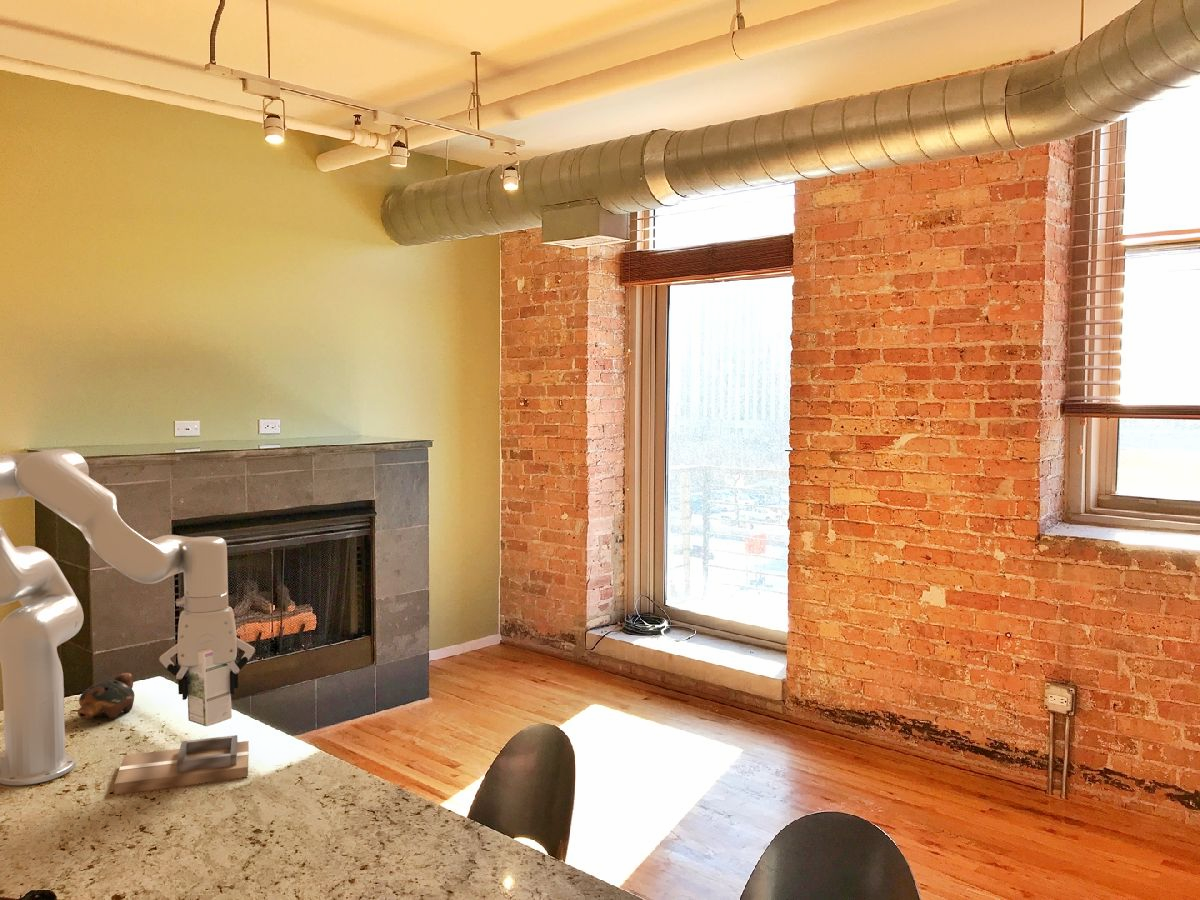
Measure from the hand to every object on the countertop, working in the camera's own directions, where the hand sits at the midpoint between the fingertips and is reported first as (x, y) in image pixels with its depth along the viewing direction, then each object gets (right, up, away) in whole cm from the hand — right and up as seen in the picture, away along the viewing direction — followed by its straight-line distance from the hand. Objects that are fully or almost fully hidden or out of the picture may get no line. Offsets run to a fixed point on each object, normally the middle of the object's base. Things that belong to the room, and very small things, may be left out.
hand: (209, 694), depth 170 cm
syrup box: (0, -5, 0) cm, 5 cm away
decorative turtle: (-34, -12, +27) cm, 45 cm away
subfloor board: (-4, -14, 0) cm, 15 cm away
